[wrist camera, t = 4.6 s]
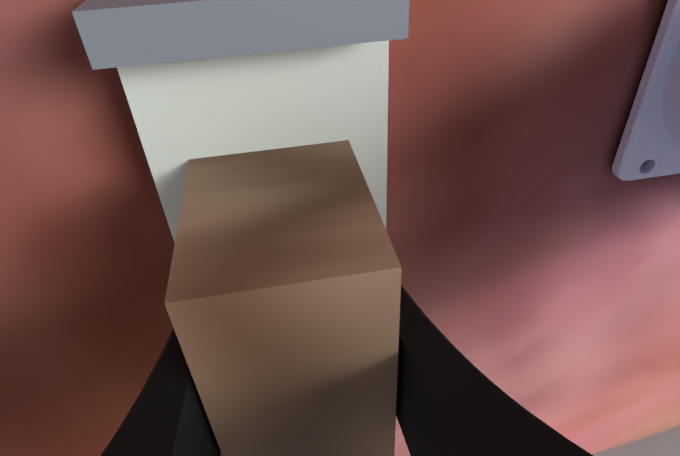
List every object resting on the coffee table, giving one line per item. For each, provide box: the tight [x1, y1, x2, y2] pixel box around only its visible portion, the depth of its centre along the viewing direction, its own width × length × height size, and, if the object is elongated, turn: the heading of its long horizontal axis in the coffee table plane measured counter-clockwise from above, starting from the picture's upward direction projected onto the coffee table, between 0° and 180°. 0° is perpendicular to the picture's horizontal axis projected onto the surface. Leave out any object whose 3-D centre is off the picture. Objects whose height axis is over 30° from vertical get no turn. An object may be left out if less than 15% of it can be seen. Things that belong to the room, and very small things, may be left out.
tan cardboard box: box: [164, 140, 402, 456], centre depth 12 cm, size 4×8×5 cm, turn 3°
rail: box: [72, 0, 409, 243], centre depth 15 cm, size 6×24×6 cm, turn 3°
